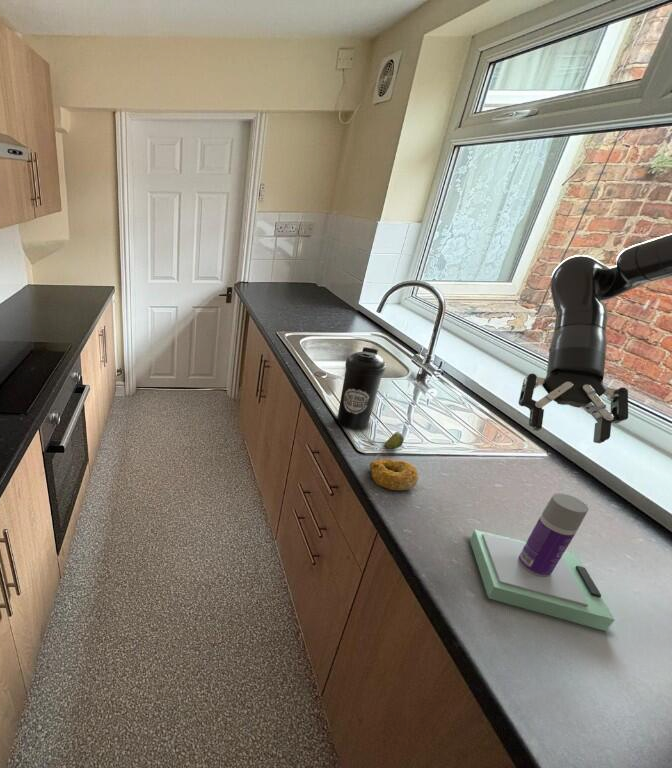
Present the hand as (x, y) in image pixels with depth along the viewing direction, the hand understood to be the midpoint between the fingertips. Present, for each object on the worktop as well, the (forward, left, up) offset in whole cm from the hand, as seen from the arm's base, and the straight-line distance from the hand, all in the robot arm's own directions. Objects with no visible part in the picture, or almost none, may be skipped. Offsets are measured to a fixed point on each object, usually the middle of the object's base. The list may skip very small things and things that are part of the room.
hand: (567, 435), depth 74 cm
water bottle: (+31, -35, -25) cm, 53 cm away
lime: (+21, -25, -25) cm, 41 cm away
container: (+1, +11, -21) cm, 24 cm away
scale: (+1, +12, -25) cm, 27 cm away
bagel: (+22, -10, -25) cm, 35 cm away
